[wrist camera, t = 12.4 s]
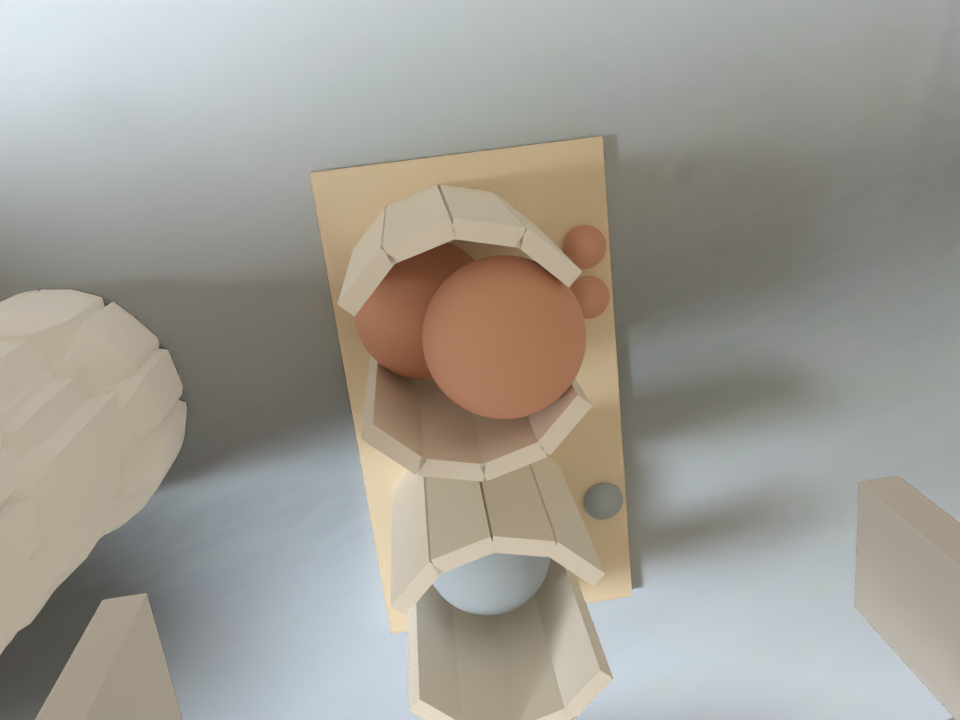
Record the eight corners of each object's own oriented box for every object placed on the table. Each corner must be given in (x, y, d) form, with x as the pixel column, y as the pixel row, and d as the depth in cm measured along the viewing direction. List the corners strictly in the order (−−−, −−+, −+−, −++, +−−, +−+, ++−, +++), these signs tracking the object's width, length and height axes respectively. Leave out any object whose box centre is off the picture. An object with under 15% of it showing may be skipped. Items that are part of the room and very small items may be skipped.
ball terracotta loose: (417, 448, 29) (590, 446, 28) (399, 282, 27) (585, 275, 26) (442, 384, 35) (586, 381, 34) (429, 243, 32) (582, 236, 32)
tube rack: (391, 626, 44) (389, 784, 34) (310, 172, 36) (277, 204, 26) (629, 589, 45) (695, 734, 35) (599, 136, 37) (673, 154, 27)
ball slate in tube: (430, 577, 43) (435, 652, 37) (414, 474, 41) (416, 536, 35) (544, 560, 43) (566, 632, 37) (533, 456, 41) (555, 515, 36)
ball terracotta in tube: (401, 353, 40) (339, 398, 35) (383, 230, 38) (315, 257, 33) (519, 354, 38) (472, 402, 32) (506, 223, 36) (453, 251, 31)
